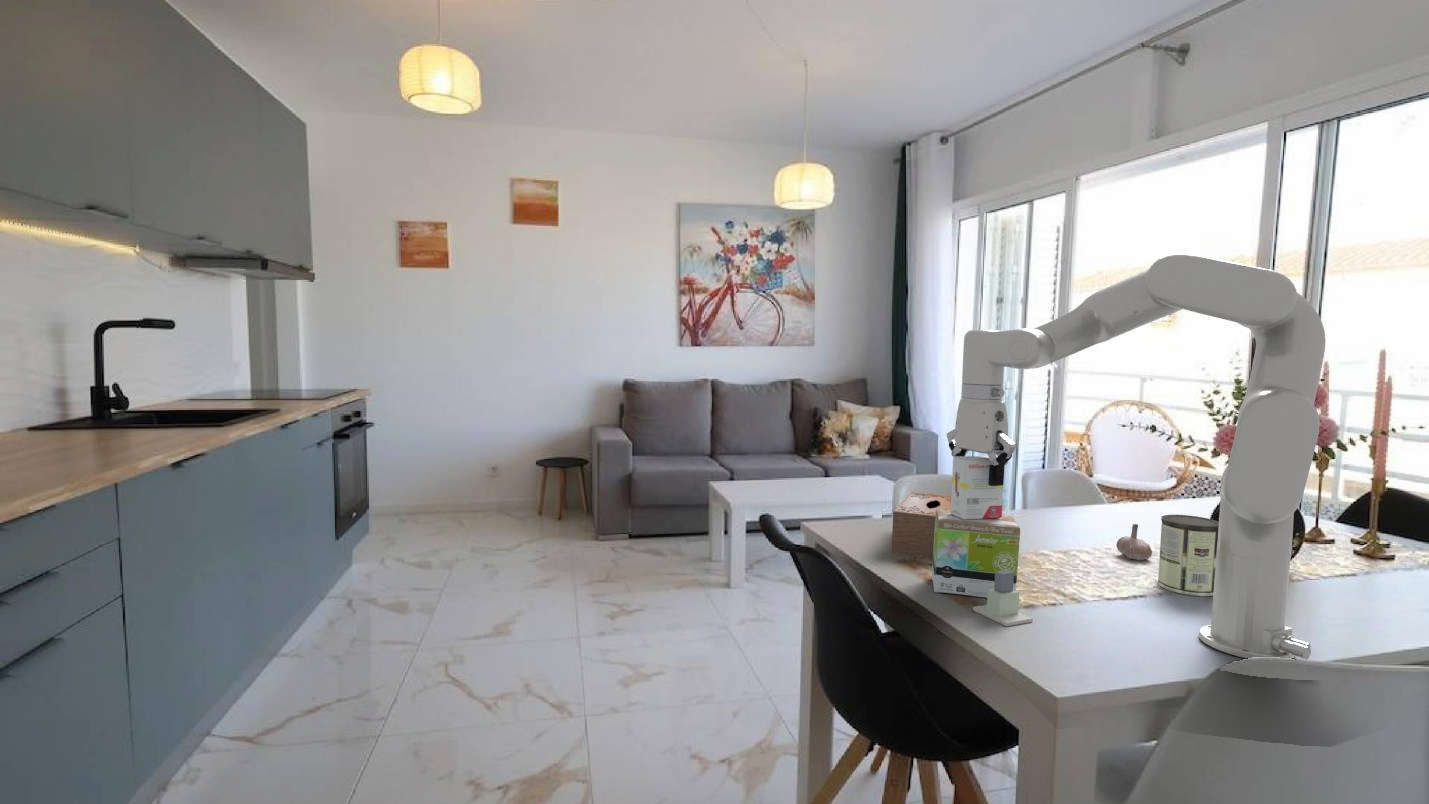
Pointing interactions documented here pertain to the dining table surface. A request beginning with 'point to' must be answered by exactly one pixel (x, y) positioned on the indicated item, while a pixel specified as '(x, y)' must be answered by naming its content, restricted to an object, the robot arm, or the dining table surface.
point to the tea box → (973, 553)
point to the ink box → (974, 489)
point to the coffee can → (1188, 554)
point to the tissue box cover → (917, 523)
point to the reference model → (1003, 601)
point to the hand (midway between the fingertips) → (977, 480)
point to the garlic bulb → (1134, 546)
